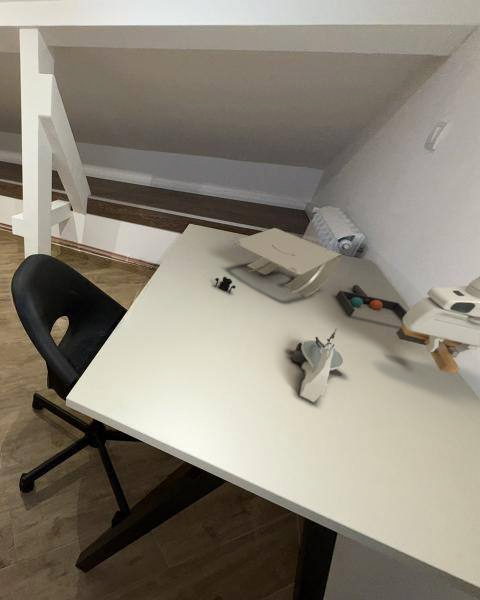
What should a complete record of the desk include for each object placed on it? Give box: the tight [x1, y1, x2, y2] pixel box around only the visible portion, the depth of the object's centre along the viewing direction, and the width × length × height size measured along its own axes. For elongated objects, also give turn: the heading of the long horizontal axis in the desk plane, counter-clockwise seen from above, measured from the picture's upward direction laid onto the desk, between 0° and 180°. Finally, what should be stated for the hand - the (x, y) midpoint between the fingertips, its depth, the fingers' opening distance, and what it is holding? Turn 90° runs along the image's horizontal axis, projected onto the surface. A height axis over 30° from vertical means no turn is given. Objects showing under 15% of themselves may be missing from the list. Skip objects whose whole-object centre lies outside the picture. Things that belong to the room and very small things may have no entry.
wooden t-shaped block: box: [395, 324, 463, 375], centre depth 73 cm, size 11×12×3 cm
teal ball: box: [349, 297, 364, 308], centre depth 103 cm, size 3×3×3 cm
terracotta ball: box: [368, 300, 383, 311], centre depth 102 cm, size 3×3×3 cm
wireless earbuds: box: [214, 276, 237, 294], centre depth 104 cm, size 7×2×5 cm, turn 43°
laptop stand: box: [233, 227, 343, 298], centre depth 109 cm, size 26×24×16 cm
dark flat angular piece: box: [335, 284, 408, 322], centre depth 104 cm, size 22×17×3 cm
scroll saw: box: [288, 328, 344, 404], centre depth 71 cm, size 20×11×12 cm
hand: (440, 353), depth 72 cm, fingers closed on wooden t-shaped block, 2 cm apart
